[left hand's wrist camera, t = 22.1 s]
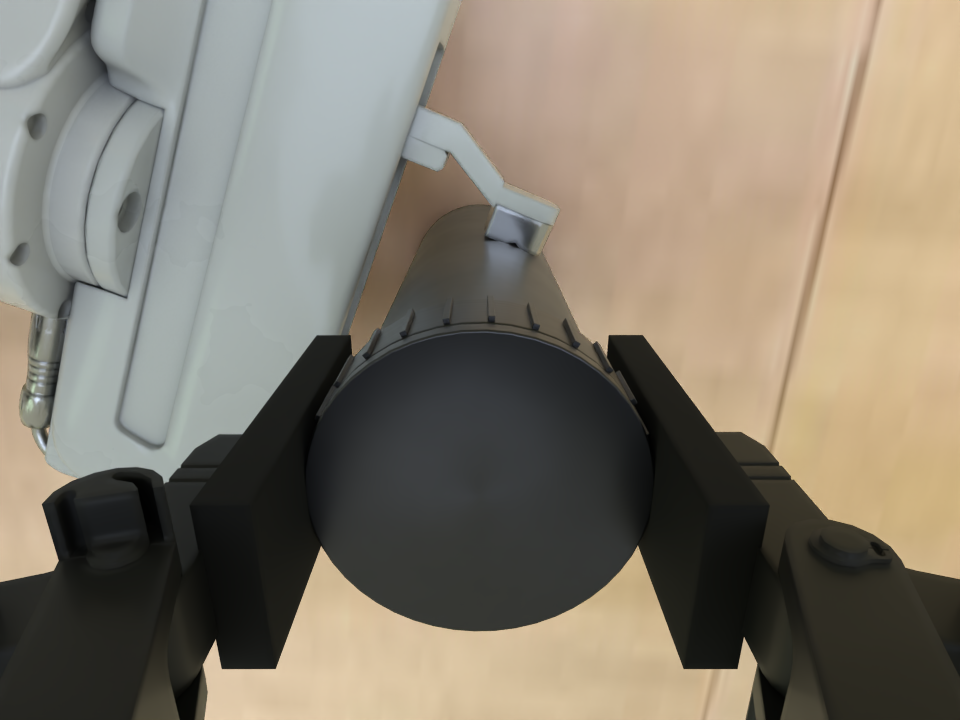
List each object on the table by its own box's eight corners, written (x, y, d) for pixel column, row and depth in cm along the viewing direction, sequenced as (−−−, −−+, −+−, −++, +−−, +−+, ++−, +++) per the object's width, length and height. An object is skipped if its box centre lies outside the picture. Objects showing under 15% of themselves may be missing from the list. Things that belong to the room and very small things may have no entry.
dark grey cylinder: (551, 318, 26) (640, 564, 12) (430, 339, 27) (372, 604, 12) (532, 193, 25) (610, 303, 10) (403, 217, 25) (295, 359, 10)
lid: (548, 605, 13) (558, 674, 12) (282, 509, 12) (252, 568, 11) (694, 373, 11) (730, 416, 10) (391, 238, 11) (375, 260, 9)
